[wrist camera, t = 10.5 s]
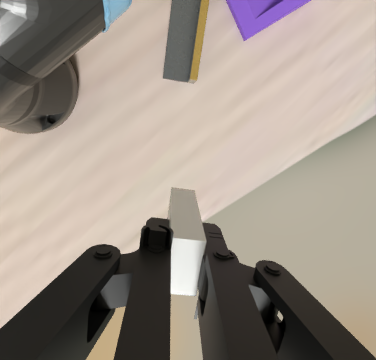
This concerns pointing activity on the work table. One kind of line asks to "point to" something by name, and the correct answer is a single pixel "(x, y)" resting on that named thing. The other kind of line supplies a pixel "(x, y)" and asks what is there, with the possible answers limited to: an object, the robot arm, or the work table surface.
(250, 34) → the bracket
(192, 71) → the wall
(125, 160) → the work table surface
